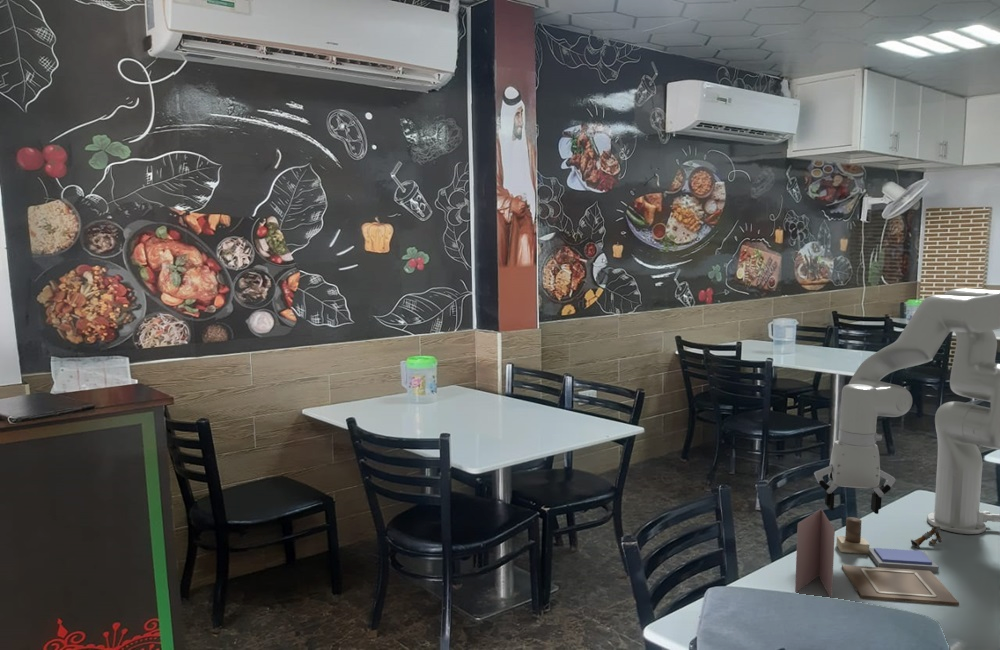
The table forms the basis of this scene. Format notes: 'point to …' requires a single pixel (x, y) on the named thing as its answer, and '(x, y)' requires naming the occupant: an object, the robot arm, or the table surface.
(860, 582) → the marked board
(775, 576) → the table surface
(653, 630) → the table surface
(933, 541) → the wooden post with brackets
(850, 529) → the stamp
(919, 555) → the ink pad
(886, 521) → the table surface
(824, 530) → the greeting card
